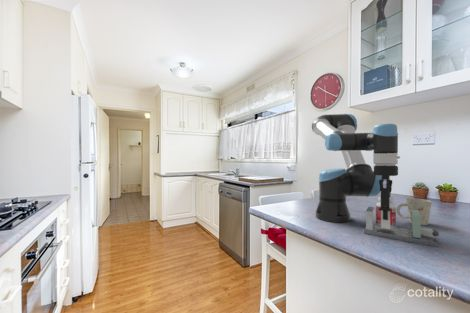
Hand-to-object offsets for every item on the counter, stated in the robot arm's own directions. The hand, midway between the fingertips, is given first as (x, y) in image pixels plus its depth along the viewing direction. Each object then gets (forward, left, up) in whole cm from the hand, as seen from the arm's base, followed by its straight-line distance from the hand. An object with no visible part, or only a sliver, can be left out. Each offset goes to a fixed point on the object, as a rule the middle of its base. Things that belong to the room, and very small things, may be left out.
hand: (386, 225), depth 80 cm
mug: (+9, +23, -3) cm, 25 cm away
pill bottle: (0, 0, -1) cm, 1 cm away
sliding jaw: (+11, 0, -1) cm, 11 cm away
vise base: (+4, 0, -3) cm, 5 cm away
